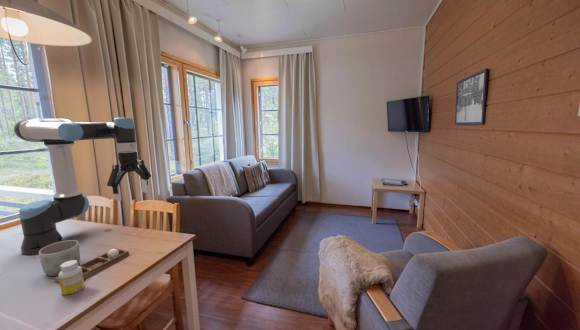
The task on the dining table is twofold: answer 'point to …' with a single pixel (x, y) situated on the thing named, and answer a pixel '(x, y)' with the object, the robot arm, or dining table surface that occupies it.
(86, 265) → the caddy
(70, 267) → the pill bottle
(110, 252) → the white egg ball
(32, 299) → the dining table surface
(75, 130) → the robot arm
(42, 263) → the planter
